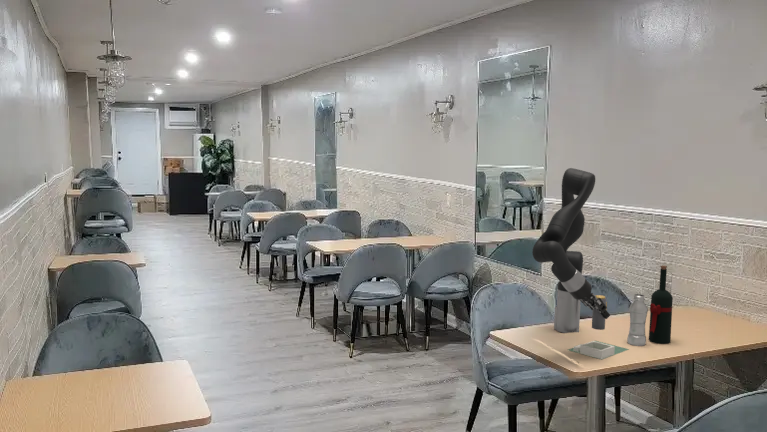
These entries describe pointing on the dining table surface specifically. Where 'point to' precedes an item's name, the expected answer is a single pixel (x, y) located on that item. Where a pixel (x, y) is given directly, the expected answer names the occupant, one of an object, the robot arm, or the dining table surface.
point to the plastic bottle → (637, 321)
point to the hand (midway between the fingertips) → (603, 315)
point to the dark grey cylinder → (598, 316)
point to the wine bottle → (661, 312)
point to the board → (597, 349)
